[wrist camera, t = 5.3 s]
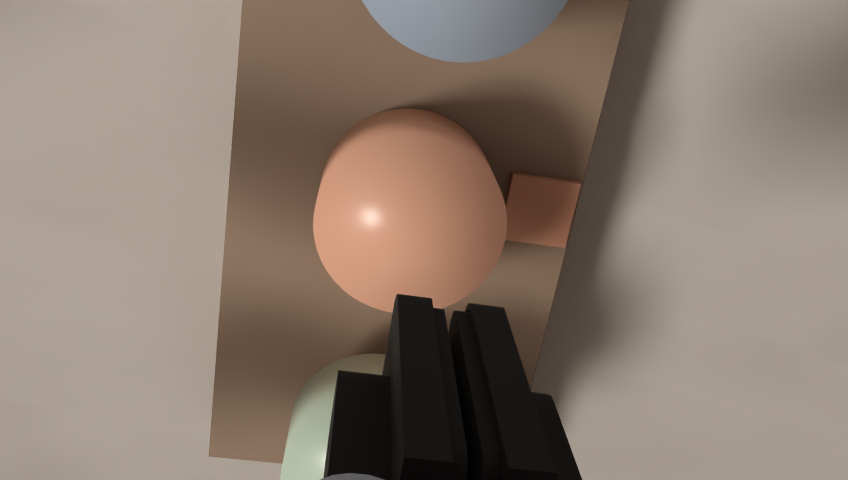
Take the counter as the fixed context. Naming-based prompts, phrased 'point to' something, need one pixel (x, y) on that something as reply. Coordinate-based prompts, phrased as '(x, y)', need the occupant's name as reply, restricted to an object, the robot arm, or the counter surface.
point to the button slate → (464, 25)
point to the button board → (303, 167)
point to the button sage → (318, 417)
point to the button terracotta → (408, 210)
